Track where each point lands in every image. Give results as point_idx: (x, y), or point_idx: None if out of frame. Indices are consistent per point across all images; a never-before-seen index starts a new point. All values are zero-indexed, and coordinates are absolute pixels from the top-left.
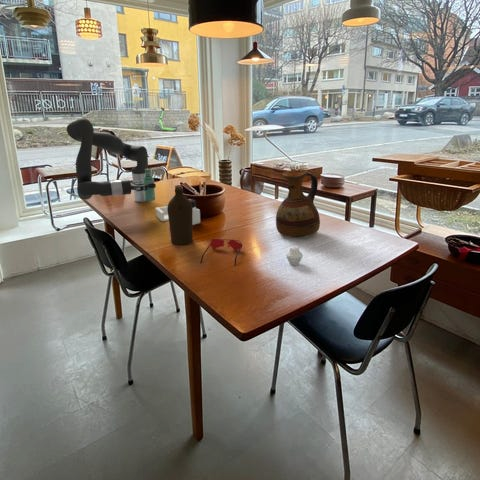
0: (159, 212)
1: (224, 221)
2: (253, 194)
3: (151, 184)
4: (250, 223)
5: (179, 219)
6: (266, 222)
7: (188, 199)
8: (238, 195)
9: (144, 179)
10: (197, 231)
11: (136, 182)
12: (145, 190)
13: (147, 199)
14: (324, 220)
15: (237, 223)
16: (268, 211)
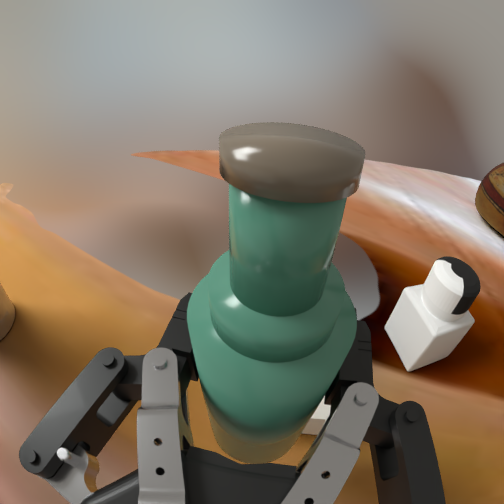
0: (323, 421)
1: (423, 264)
2: None
3: (355, 347)
4: (446, 237)
5: None
6: (442, 219)
7: (447, 268)
8: (209, 162)
9: (268, 368)
10: (492, 352)
11: (185, 501)
12: (281, 438)
13: (284, 453)
14: (438, 178)
15: (443, 253)
16: (370, 185)
